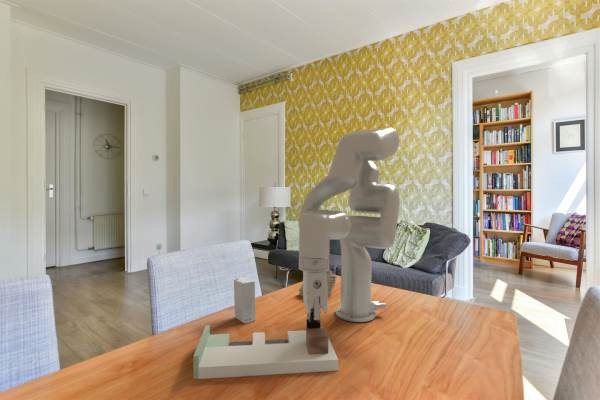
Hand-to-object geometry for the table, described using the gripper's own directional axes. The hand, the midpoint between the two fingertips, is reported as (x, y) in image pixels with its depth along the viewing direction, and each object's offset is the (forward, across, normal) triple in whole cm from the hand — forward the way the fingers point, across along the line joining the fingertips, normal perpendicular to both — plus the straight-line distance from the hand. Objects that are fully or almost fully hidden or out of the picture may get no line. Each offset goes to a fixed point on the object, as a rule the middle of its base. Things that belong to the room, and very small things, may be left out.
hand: (313, 335), depth 79 cm
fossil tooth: (+4, +41, -8) cm, 42 cm away
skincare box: (+4, +20, +18) cm, 28 cm away
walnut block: (+1, -4, 0) cm, 5 cm away
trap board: (+4, -2, +11) cm, 12 cm away
